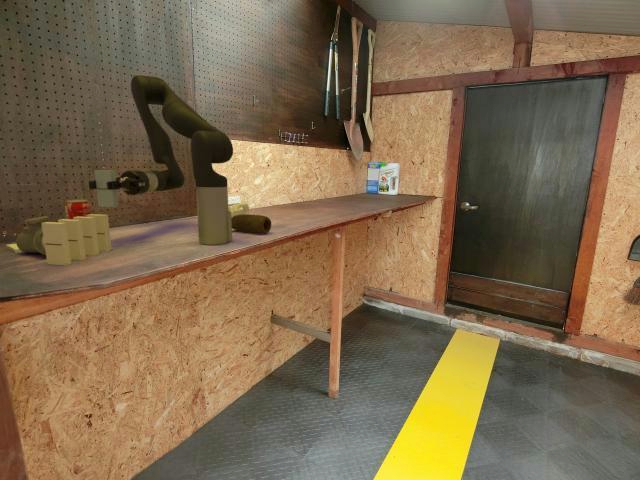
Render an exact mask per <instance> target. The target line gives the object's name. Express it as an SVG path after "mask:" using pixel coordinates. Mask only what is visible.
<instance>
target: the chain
mask: <svg viewBox="0 0 640 480" xmlns="http://www.w3.org/2000/svg"><path fill="white" fill-rule="evenodd" d="M228 211H231V218H232V217H233V216H236V215H241V214H247V215H250V207H249V205H248V203H245V202H244V203H243V202H241V203H235V204H233V206H232V207H230V206H229V205H228Z"/></svg>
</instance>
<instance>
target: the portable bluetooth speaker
mask: <svg viewBox="0 0 640 480" xmlns="http://www.w3.org/2000/svg"><path fill="white" fill-rule="evenodd" d="M231 221H232V230H234V231H237V232H243V233H249V234H256V235H257V234H258V235H259V234H260V235H265V234H268V233H269V232H270V231H271V229H272V221H271V219H270V218H269V217H268V216H266V215H259V214H248V215H247V214H241V215H236V216H233V217H232V218H231Z"/></svg>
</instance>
